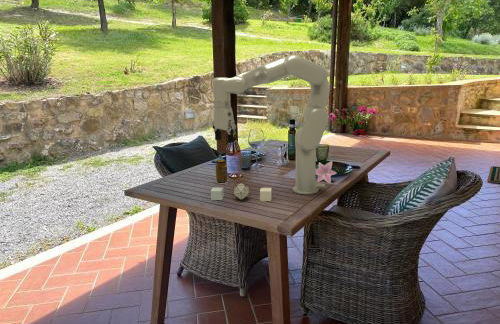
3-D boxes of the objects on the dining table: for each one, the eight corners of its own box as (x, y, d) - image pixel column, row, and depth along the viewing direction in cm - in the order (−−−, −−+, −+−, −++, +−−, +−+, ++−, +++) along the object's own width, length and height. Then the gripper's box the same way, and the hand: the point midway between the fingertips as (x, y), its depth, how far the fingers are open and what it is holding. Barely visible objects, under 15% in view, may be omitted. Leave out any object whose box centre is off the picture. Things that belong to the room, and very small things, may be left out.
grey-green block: (223, 197, 188) (223, 187, 187) (221, 201, 183) (221, 191, 182) (213, 197, 189) (212, 187, 187) (211, 201, 184) (210, 191, 183)
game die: (240, 205, 187) (240, 185, 191) (254, 201, 183) (254, 181, 186) (228, 201, 181) (228, 180, 185) (242, 197, 176) (242, 176, 180)
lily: (308, 181, 211) (308, 168, 204) (321, 168, 216) (322, 156, 210) (326, 191, 205) (327, 179, 198) (339, 179, 210) (341, 166, 203)
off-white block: (271, 197, 185) (271, 187, 184) (271, 201, 181) (270, 191, 179) (261, 197, 186) (260, 187, 185) (260, 201, 181) (259, 191, 180)
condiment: (227, 179, 215) (226, 158, 212) (230, 184, 207) (229, 162, 204) (214, 181, 213) (212, 159, 210) (216, 185, 205) (215, 163, 202)
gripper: (240, 105, 177) (242, 142, 181) (217, 102, 189) (219, 137, 194) (227, 107, 172) (229, 145, 177) (204, 104, 185) (207, 140, 189)
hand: (224, 141), depth 185 cm, fingers open, 9 cm apart
